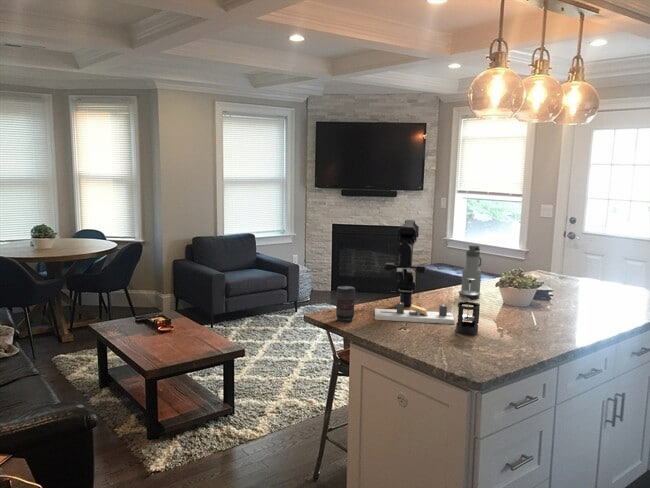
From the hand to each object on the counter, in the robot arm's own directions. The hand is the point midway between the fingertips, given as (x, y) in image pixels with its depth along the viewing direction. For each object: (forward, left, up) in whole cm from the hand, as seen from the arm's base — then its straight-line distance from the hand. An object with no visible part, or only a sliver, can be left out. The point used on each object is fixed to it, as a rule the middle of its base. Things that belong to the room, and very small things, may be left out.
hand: (404, 286), depth 255 cm
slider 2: (+8, +17, -10) cm, 22 cm away
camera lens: (+19, -26, -13) cm, 35 cm away
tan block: (+8, +7, -9) cm, 14 cm away
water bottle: (-44, +38, -13) cm, 60 cm away
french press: (+25, +26, -13) cm, 38 cm away
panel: (+8, +5, -13) cm, 16 cm away
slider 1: (+8, -2, -10) cm, 13 cm away
